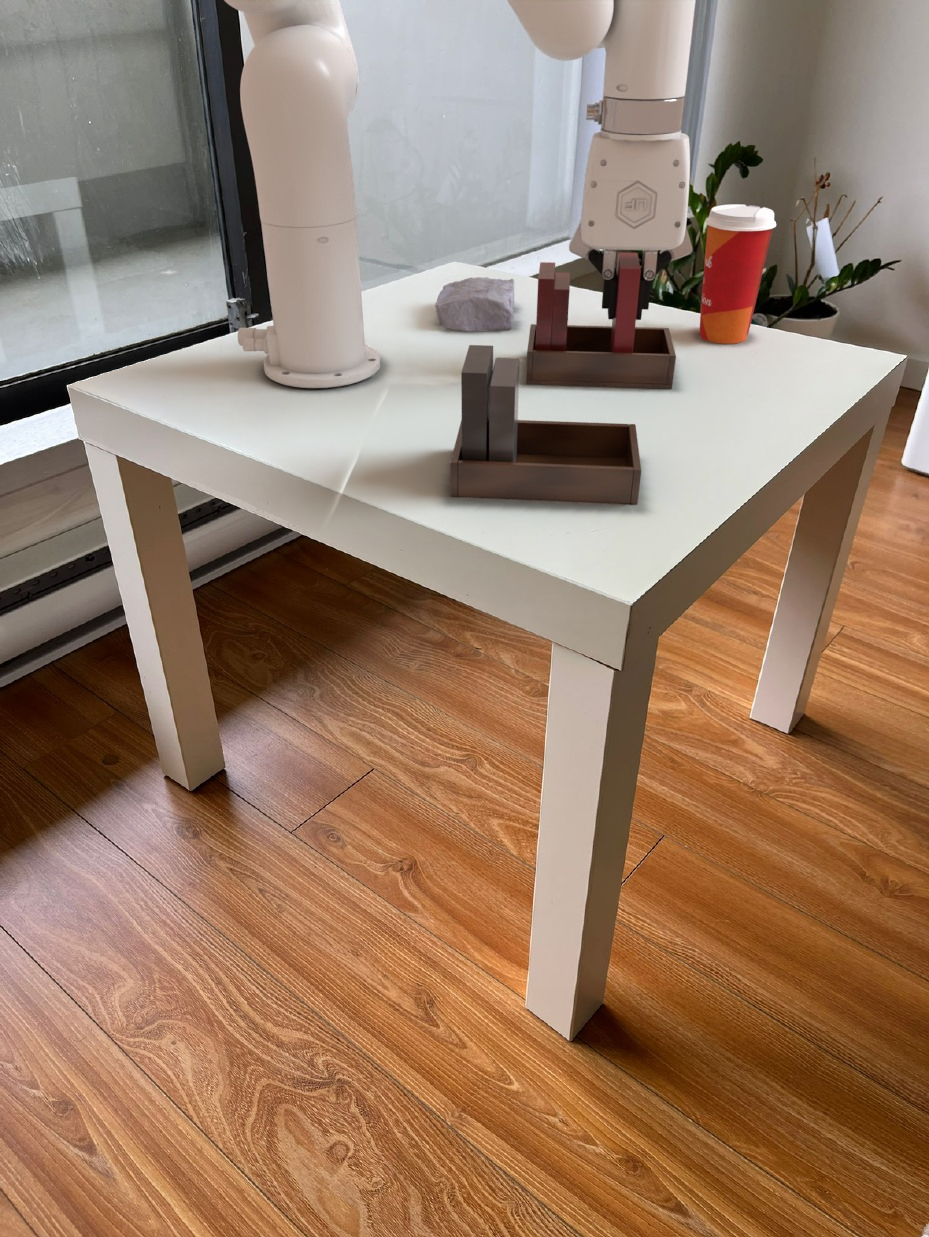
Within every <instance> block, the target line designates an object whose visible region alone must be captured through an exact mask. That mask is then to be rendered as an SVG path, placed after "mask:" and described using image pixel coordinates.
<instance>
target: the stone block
mask: <svg viewBox="0 0 929 1237" xmlns="http://www.w3.org/2000/svg"><path fill="white" fill-rule="evenodd" d="M434 306H435V309H436V317H437V319H438V321H439V324H440V325H442V326H443V327H444V328H445V329H449V330H455V331H462V332H467V333H468V332H470V333H471V332H483V331H485V332H487V331H488V332H495V331H496V332H497V331H510V330H512V328H513V327H514V318H515V279H514V278H511V279H501V278H490V277H488V276H487V277H468V278H465V279H462V280H455V281H453V282H449V283H447V284H445V285H443V286H442V289H441V290H440V291H439V293H438V296H437V298H436V302H435V304H434Z"/></svg>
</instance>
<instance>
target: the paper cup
mask: <svg viewBox="0 0 929 1237" xmlns="http://www.w3.org/2000/svg"><path fill="white" fill-rule="evenodd" d="M704 223H705V224H706V225H707V229H706V240H705V252H704V265H703V278H702V288H701V290H702V292H701V304H700V315H699V316H700V317H699V337H700V338H701V339H703V340H704V341H706V342H710V343H714V344H722V345H733V344H735V345H736V344H740V343H744V342H746V340H747V338H748V336H749V332H750V329H751V325H752V320H753V318H754V317H753V316H754V312H755V309H756V308H755V307H756V303H757V299H758V296H759V295H758V294H759V290H760V287H761V281H762V277H763V273H764V268H765V263H766V259H767V257H768V256H767V255H768V251H769V247H770V242H771V238H772V233H773V229H774V228H776V227H777V223H776V220H775V211H774V210H773V209H771V208H769V207H764V206H763V207H760V206H758V205H751V204H750V205H747V204H738V203H737V204H736V203H735V204H722V205H716V206H713V207H712V208H711V209H710V212H709V215H708V216H707V218H706V219H705V220H704Z"/></svg>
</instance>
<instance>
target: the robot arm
mask: <svg viewBox="0 0 929 1237" xmlns="http://www.w3.org/2000/svg"><path fill="white" fill-rule="evenodd" d="M223 1H224V2H225V3H226V4H227V5H228V6H230V7H231V8H232V9H233V8H234V9H235V10H237V11H239V12H242V13H243V17H244V19H245V22H246V26H247V28H248V30H249V34H250V37H251V39H252V41H253V45H254V46H253V47H252V49H251V50H250V51H249V53H248V55H247V57H246V60H245V62H244V66H243V68H242V72H241V77H240V84H239V85H240V87H239V93H240V94H239V95H240V96H239V97H240V108H241V113H242V115H241V116H242V120H243V125H244V130H245V134H246V139H247V143H248V148H249V152H250V157H251V162H252V168H253V173H254V175H253V176H254V181H255V187H256V195H257V202H258V204H257V205H258V211H259V219H260V224H261V225H260V226H261V232H262V240H263V250H264V256H265V258H264V259H265V265H266V273H267V274H266V275H267V281H268V290H269V300H270V307H271V314H272V322H273V324H272V325H267V326H266V328H265V329H263V328H262V329H261V328H256V327H239V328H238V330H237V341H238V345H239V346H240V347H242V350H243V351H244V352H255V353H256V352H264V354H265V355H266V357H265V358H264V360H263V370H264V373H265V376H266V377H267V378H269V379H270V380H271V381H273V382H275V383H278V384H281V385H283V386H288V387H294V388H301V389H328V388H337V387H343V386H349V385H352V384H357V383H359V382H362V381H364V380H367V379H368V378H371V377H372V376H374V375H375V374H376V373H377V372H378V371H379V369H380V368H381V357H380V353H379V352H378V350H376V349H374V348H373V347H371V346H369V345H367V344H366V341H365V327H364V324H365V323H364V312H363V311H364V310H363V309H364V308H363V297H362V296H363V295H362V294H363V293H362V281H361V280H362V279H361V265H360V250H359V235H358V220H357V211H356V209H357V208H356V195H355V194H356V193H355V183H354V182H355V181H354V172H353V162H352V154H351V147H350V145H351V144H350V136H349V126H348V124H349V123H348V117H350V115H351V113H352V112H353V110H354V108H355V106H356V104H357V100H358V96H359V91H360V71H359V66H358V61H357V57H356V53H355V50H354V47H353V46H354V45H353V43H352V40H351V36H350V33H349V30H348V26H347V22H346V19H345V16H344V12H343V9H342V5H341V2H340V0H223ZM506 1H507V2H508V5H509V6H510V8H511V9H512V10H513V12H514V14H515V16H516V17H517V19H518V21H519V22H520V24H521V26H522V28H523V29H524V30H525V32H526V34H527V36H528V37H529V39H530V40H531V42H532V44H533V45H534V46H535V47H536V49H538V50H539V51H540V52H541V53H542V54H544V55H545V56H547V57H549V58H550V59H553V60H557V61H564V62H565V61H566V62H567V61H577V60H578V59H581V58H583V57H585V56H587V55H589V54H590V53H592V52H593V51H594V50H595V49H604V50H605V59H604V60H605V62H604V73H603V74H604V75H603V89H602V90H603V91H602V99H599V101H598V102H595V103H588V104H586V112H585V114H586V115H585V120H586V121H593V122H594V123H597V126H598V125H599V126H600V131H598V132H595V133H593V135H592V139H591V141H590V145H589V150H588V155H587V161H586V168H585V173H584V174H585V175H584V183H583V191H582V192H583V193H582V200H581V201H582V202H581V214H580V220H579V222H578V223H577V226H576V229H575V231H574V233H573V235H572V237H571V239H570V241H569V244H568V251H569V252H570V253H572V254H574V255H576V256H578V257H580V258H582V259H585V260H587V261H589V262H590V263H591V264H592V266H593V267H594V268H595V269H596V270H597V271H598V272H599V274H600V275H601V276H602V278H603V285H602V296H601V297H602V299H601V309H602V310H603V309H604V310H607V319H608V320H612V319H613V318H615V314H616V302H617V290H618V276H617V267H616V258H617V251H642V262H641V266H640V268H641V272H640V283H639V293H638V303H637V314H636V321H641V320H642V315H643V310H645V311H646V310H649V306H650V299H651V287H652V281H653V280H654V279H655V277H656V275H657V274H659V273H660V272H661V271H662V270H664V268H665V267H667V265H669V264H670V263H671V262H673V261H676V260H679V259H681V258H684V257H686V256H689V255H691V254H692V252H693V250H694V248H693V245H692V241H691V238H690V234H689V231H688V228H687V221H688V208H689V195H690V180H691V179H690V178H691V176H690V175H691V148H690V136H689V135H688V134H686V133H683V132H682V127H683V117H684V110H685V99H686V91H687V90H686V89H687V81H688V73H689V64H690V54H691V46H692V36H693V27H694V19H695V8H696V0H506ZM601 250H602V251H601Z"/></svg>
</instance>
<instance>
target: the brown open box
mask: <svg viewBox="0 0 929 1237" xmlns="http://www.w3.org/2000/svg"><path fill="white" fill-rule="evenodd" d="M570 285H571V273H570V272H559V271H558V272H556V262H549V261H548V262H547V261H541V262H540V263H539V269H538V276H537V298H536V320H535V321H536V322H535V323H536V324H534V323H531V324H530V328H529V333H528V334H529V335H528V342H527V351H526V374H525V378H526V379H525V384H526V385H537V386H538V385H541V386H568V387H569V386H570V387H571V386H573V387H598V388H599V387H602V388H631V389H632V388H633V389H634V388H636V389H660V390H661V389H662V390H672V389H673V384H674V383H673V382H674V376H675V368H676V360H677V355H676V351H675V347H674V343H673V340H672V336H671V331H670V328H669V327H653V326H652V327H651V326H650V327H649V326H646V327H645V326H635V334H634V344H633V353H612V352H611V349H610V344H611V331H612V325H611V326H609V325H579V324H578V325H575V324H574V325H573V324H569V307H570V289H571V286H570Z"/></svg>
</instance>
